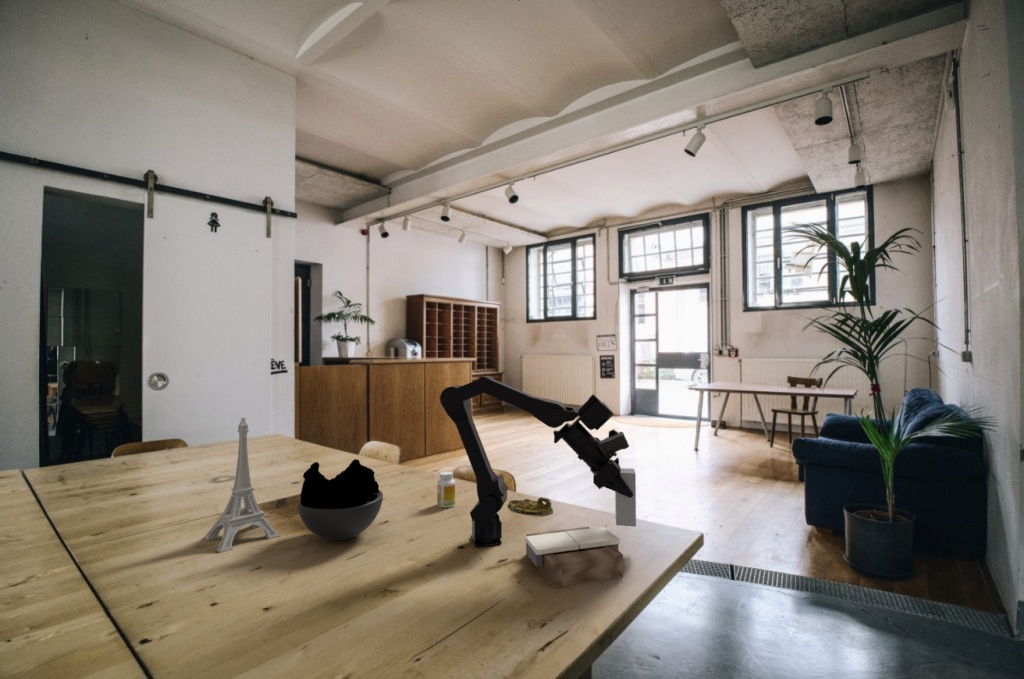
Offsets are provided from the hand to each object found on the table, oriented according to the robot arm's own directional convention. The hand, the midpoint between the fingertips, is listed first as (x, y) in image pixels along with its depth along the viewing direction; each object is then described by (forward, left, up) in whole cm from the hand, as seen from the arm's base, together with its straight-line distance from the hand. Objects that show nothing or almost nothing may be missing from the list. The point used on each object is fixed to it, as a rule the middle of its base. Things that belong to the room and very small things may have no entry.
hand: (631, 493), depth 109 cm
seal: (-13, +35, -14) cm, 40 cm away
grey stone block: (-1, +1, -7) cm, 7 cm away
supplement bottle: (-36, +46, -13) cm, 60 cm away
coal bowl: (-65, +29, -13) cm, 72 cm away
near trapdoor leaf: (-21, -2, -11) cm, 24 cm away
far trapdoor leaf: (-11, -2, -11) cm, 16 cm away
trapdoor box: (-16, -2, -13) cm, 21 cm away
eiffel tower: (-89, +37, -14) cm, 97 cm away
